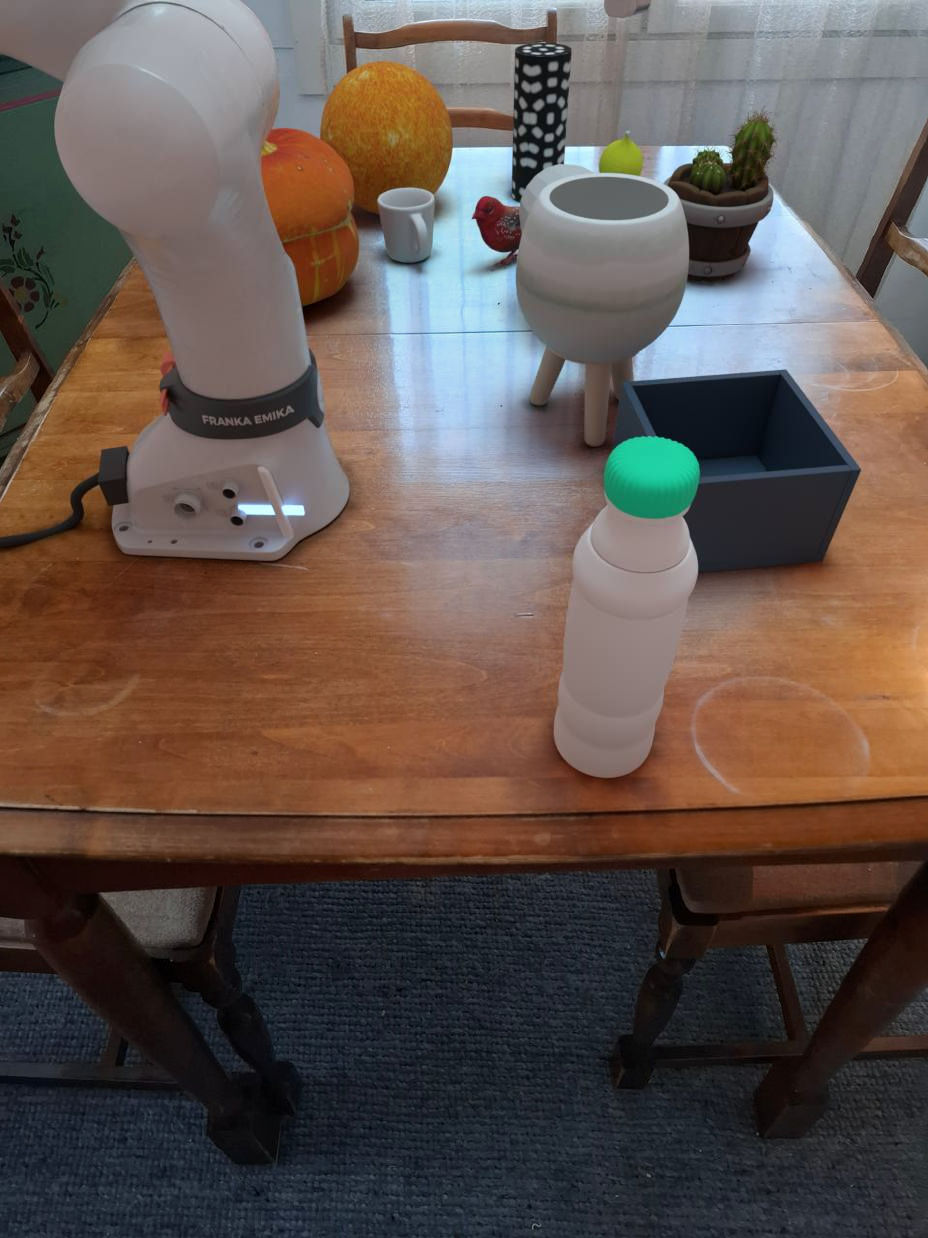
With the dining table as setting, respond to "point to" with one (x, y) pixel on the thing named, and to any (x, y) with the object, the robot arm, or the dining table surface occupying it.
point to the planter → (600, 280)
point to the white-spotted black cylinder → (539, 110)
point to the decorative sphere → (388, 130)
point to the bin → (748, 464)
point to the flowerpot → (725, 201)
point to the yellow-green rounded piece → (621, 158)
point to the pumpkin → (311, 210)
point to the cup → (407, 223)
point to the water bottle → (627, 608)
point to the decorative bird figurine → (499, 226)
